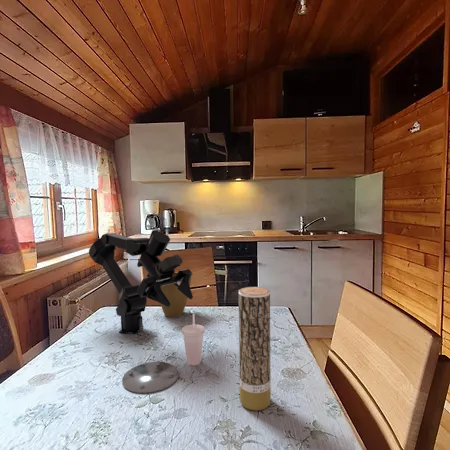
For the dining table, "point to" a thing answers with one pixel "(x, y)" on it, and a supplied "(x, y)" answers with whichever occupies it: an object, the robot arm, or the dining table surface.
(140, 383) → the flange plate
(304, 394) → the dining table surface
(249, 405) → the paper tube
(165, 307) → the plant pot
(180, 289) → the robot arm
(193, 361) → the smoothie
